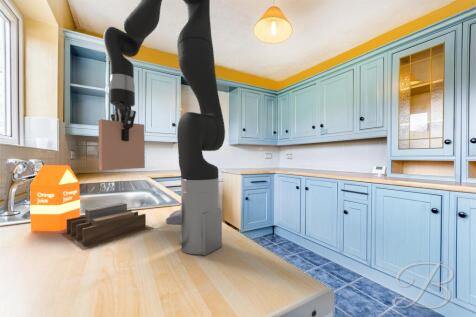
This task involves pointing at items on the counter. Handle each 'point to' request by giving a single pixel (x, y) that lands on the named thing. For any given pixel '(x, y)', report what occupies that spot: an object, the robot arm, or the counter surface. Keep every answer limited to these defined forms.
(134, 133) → the tall sheet
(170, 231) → the counter surface
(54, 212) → the orange juice
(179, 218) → the stone block
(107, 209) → the bar
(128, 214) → the offcut front
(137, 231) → the rack
